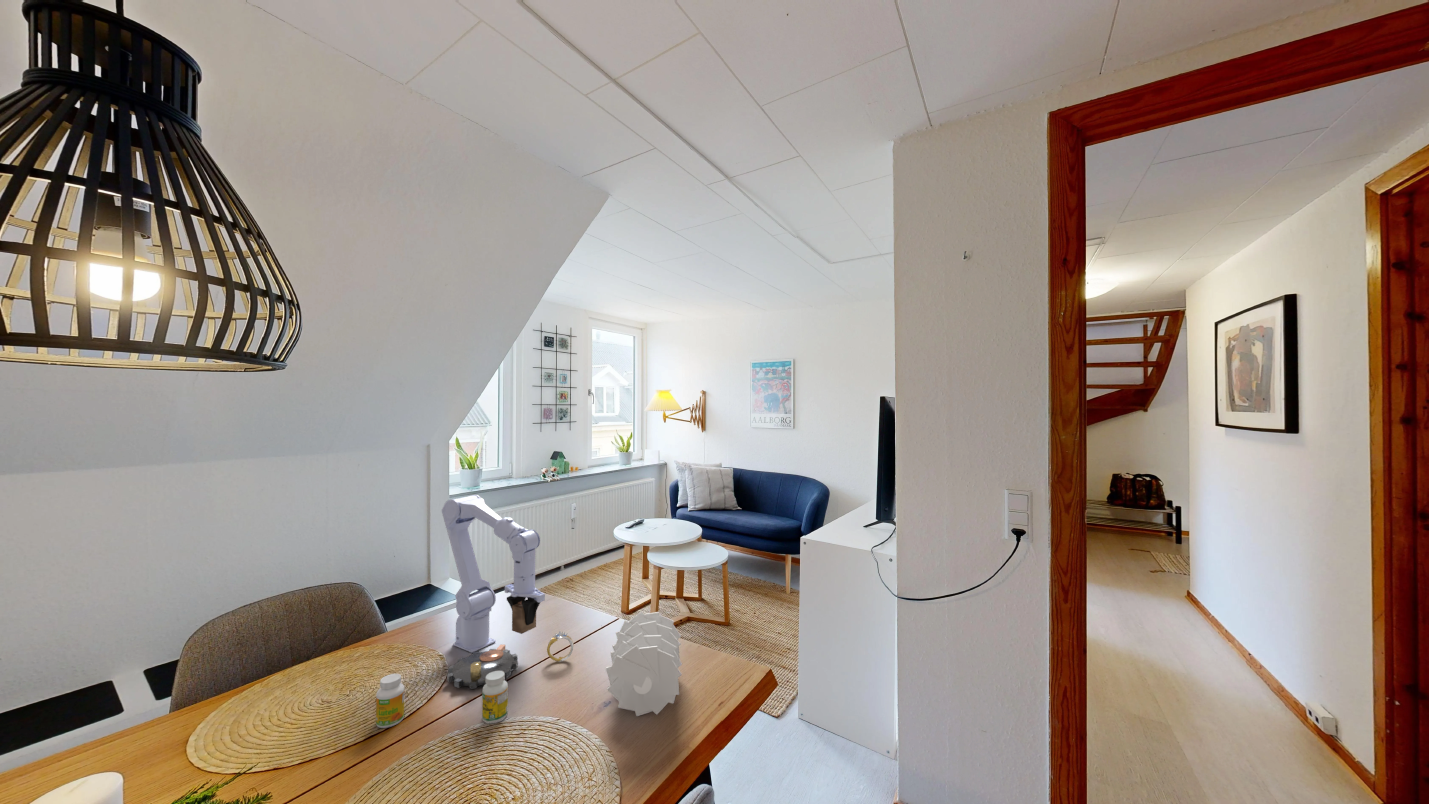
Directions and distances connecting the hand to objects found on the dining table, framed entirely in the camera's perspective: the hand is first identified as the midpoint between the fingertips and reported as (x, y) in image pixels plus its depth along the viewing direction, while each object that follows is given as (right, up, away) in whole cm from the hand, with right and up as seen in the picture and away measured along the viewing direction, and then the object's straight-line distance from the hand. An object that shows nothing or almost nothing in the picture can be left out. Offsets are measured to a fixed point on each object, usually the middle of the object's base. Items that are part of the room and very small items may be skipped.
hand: (524, 621), depth 141 cm
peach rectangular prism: (-7, -10, +1) cm, 12 cm away
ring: (+11, -10, -2) cm, 15 cm away
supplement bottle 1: (-19, -10, -29) cm, 36 cm away
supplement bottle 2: (+4, -10, -27) cm, 29 cm away
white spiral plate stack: (+37, -10, -17) cm, 42 cm away
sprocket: (-7, -10, -9) cm, 15 cm away
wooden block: (0, -2, 0) cm, 2 cm away
